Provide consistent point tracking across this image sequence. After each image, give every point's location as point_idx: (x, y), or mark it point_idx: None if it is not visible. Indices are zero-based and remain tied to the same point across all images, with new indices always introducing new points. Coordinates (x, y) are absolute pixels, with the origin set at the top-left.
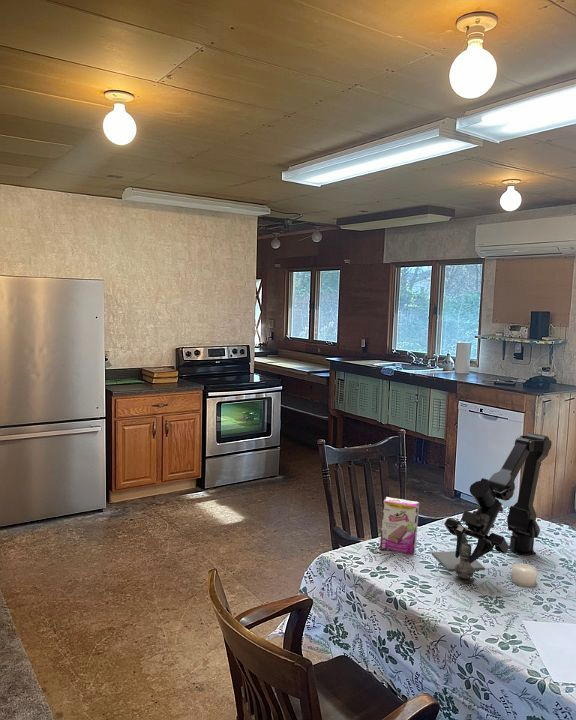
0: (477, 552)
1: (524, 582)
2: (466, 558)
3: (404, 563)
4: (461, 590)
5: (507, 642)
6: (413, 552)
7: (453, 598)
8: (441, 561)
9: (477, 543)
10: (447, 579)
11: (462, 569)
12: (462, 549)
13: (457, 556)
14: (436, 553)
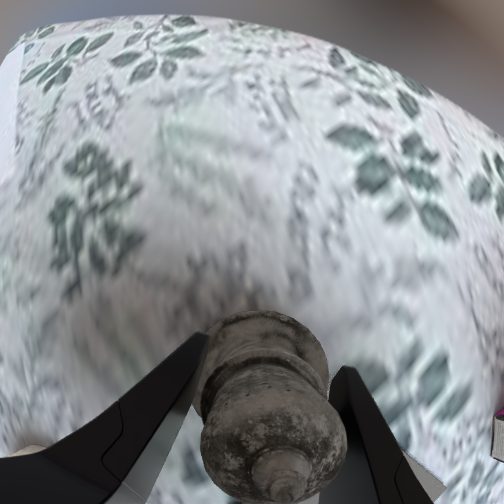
0: (114, 407)
1: (27, 450)
2: (239, 355)
3: (500, 322)
4: (228, 240)
5: (66, 59)
6: (500, 417)
7: (236, 145)
8: (404, 455)
9: (101, 501)
10: (329, 314)
11: (260, 332)
12: (310, 388)
13: (335, 380)
14: (431, 494)
